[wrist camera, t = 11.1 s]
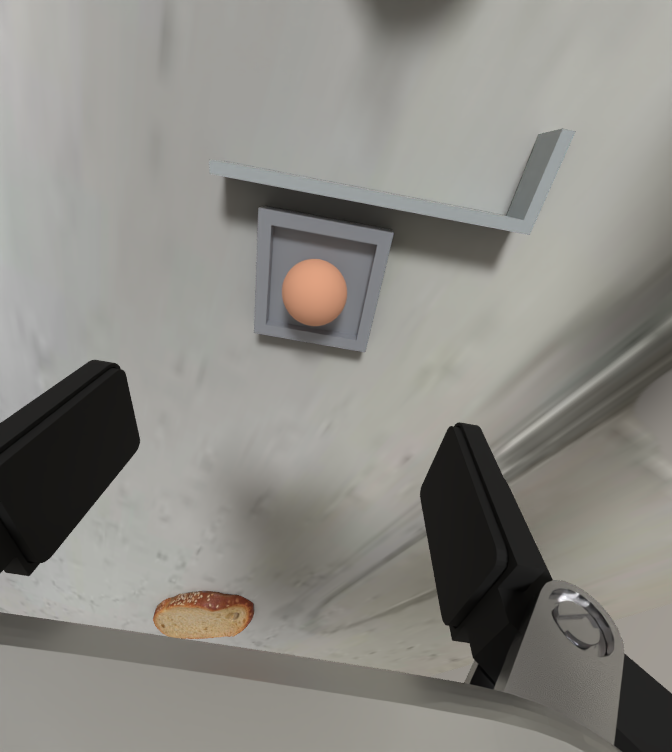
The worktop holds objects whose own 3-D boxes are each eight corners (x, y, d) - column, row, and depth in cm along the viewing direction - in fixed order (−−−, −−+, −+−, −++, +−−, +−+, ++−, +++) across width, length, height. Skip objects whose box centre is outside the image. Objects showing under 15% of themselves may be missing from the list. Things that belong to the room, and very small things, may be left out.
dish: (391, 229, 26) (393, 233, 24) (365, 343, 31) (365, 352, 29) (264, 205, 25) (258, 207, 24) (259, 325, 30) (254, 332, 29)
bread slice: (156, 620, 66) (146, 642, 62) (156, 575, 56) (144, 599, 53) (244, 637, 67) (238, 660, 64) (259, 597, 58) (253, 621, 55)
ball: (354, 258, 26) (351, 275, 22) (343, 317, 29) (338, 342, 24) (292, 247, 26) (276, 261, 22) (287, 306, 29) (272, 329, 24)
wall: (550, 136, 22) (575, 131, 19) (512, 228, 25) (529, 234, 22) (223, 70, 21) (205, 55, 19) (225, 174, 24) (209, 173, 22)
